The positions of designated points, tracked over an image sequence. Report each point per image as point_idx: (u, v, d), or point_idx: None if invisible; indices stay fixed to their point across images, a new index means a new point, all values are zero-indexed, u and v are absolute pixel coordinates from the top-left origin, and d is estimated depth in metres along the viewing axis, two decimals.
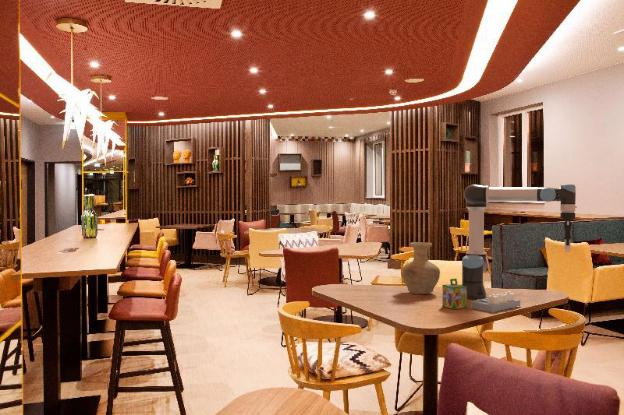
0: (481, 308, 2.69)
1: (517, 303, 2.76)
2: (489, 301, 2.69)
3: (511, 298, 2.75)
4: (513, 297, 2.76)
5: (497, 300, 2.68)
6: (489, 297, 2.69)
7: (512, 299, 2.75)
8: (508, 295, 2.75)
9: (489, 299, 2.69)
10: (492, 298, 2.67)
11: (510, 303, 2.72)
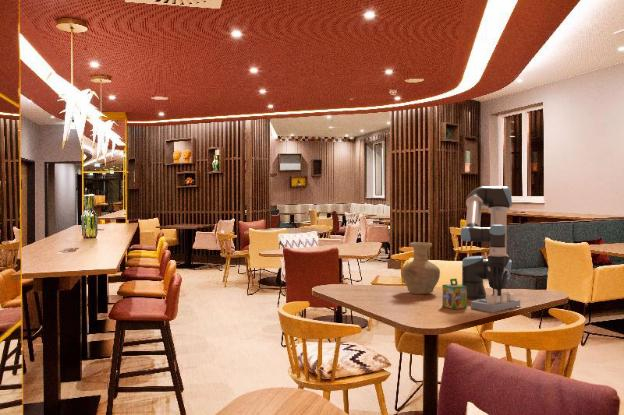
0: (481, 308, 2.69)
1: (517, 303, 2.76)
2: (488, 301, 2.69)
3: (511, 298, 2.75)
4: (513, 297, 2.76)
5: None
6: (488, 297, 2.69)
7: (512, 299, 2.75)
8: (508, 295, 2.75)
9: (488, 299, 2.69)
10: (491, 298, 2.68)
11: (510, 303, 2.72)
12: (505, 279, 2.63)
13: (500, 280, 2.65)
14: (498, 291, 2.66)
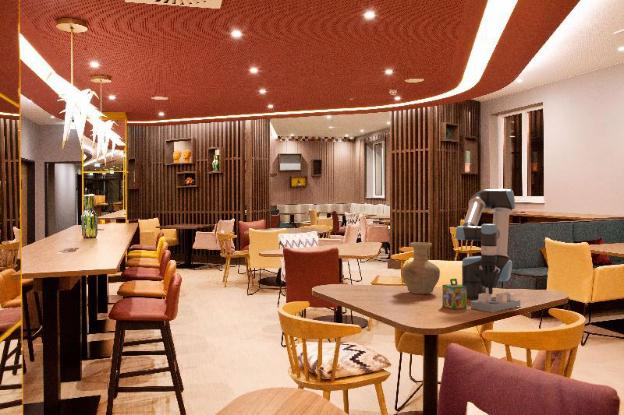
0: (481, 308, 2.69)
1: (517, 303, 2.76)
2: (479, 299, 2.73)
3: (511, 298, 2.75)
4: (513, 297, 2.76)
5: None
6: (480, 295, 2.73)
7: (512, 299, 2.75)
8: (508, 295, 2.75)
9: (480, 297, 2.73)
10: (483, 296, 2.72)
11: (510, 303, 2.72)
12: (496, 277, 2.67)
13: (491, 278, 2.69)
14: (489, 289, 2.70)
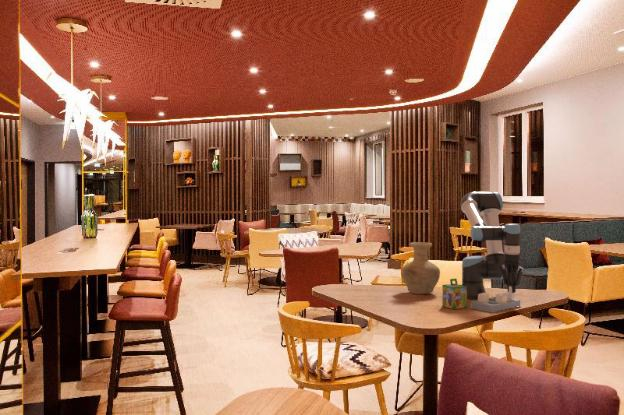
0: (481, 308, 2.69)
1: (517, 303, 2.76)
2: (479, 299, 2.73)
3: None
4: None
5: (487, 298, 2.72)
6: (479, 295, 2.73)
7: (509, 299, 2.77)
8: None
9: (479, 297, 2.73)
10: (482, 296, 2.72)
11: (510, 303, 2.72)
12: (519, 276, 2.72)
13: (515, 277, 2.75)
14: (513, 288, 2.75)
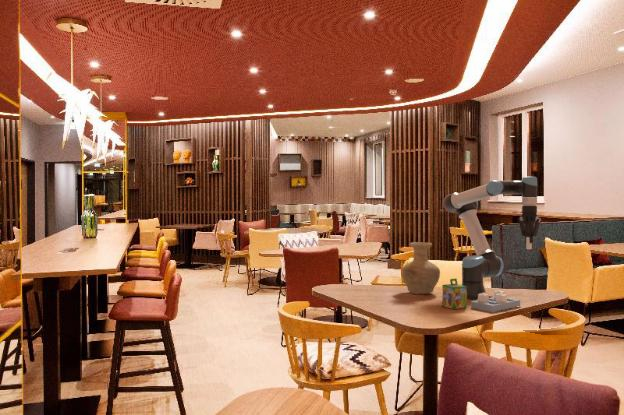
0: (481, 308, 2.69)
1: (517, 303, 2.76)
2: (479, 299, 2.73)
3: None
4: None
5: (487, 298, 2.72)
6: (479, 295, 2.73)
7: None
8: (498, 293, 2.80)
9: (479, 297, 2.73)
10: (482, 296, 2.72)
11: (510, 303, 2.72)
12: (537, 227, 2.82)
13: (532, 228, 2.84)
14: (530, 238, 2.85)
